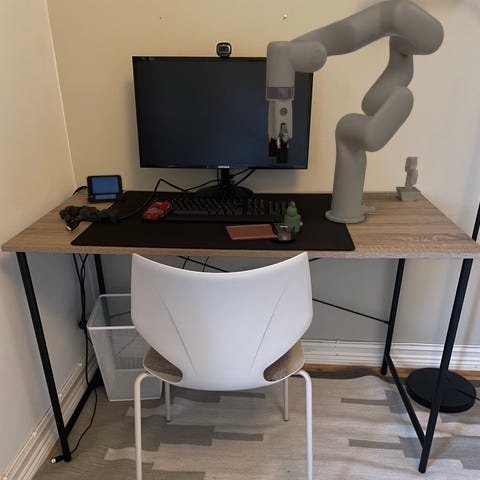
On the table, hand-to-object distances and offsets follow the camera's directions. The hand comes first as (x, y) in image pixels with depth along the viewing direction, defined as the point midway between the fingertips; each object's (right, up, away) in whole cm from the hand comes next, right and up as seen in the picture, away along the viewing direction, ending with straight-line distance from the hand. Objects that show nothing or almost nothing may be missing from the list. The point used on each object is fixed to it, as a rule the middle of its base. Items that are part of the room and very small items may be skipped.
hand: (277, 159), depth 139 cm
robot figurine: (-59, -14, +17) cm, 63 cm away
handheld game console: (-60, -2, +39) cm, 71 cm away
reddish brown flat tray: (-7, -19, +7) cm, 22 cm away
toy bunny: (+5, -18, +9) cm, 21 cm away
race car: (-38, -12, +21) cm, 45 cm away
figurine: (+51, -1, +41) cm, 65 cm away
